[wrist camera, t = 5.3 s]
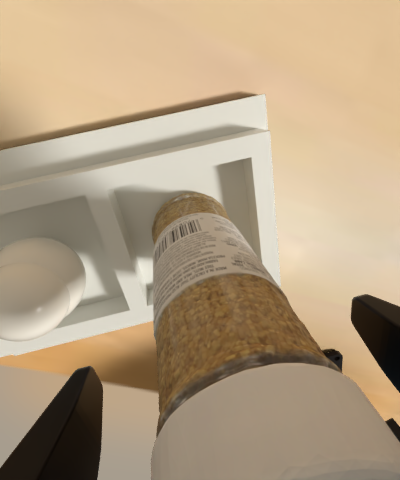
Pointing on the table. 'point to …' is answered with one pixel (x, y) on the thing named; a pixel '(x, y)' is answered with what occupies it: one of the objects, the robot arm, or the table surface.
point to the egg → (37, 287)
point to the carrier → (136, 202)
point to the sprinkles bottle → (247, 368)
